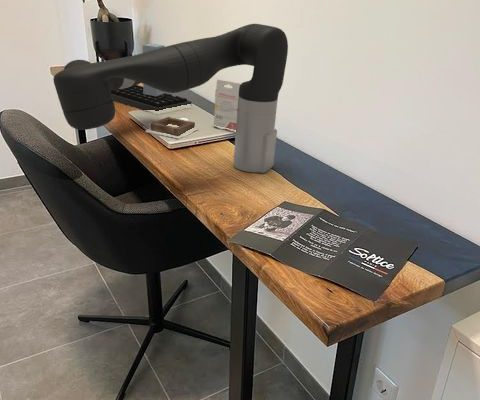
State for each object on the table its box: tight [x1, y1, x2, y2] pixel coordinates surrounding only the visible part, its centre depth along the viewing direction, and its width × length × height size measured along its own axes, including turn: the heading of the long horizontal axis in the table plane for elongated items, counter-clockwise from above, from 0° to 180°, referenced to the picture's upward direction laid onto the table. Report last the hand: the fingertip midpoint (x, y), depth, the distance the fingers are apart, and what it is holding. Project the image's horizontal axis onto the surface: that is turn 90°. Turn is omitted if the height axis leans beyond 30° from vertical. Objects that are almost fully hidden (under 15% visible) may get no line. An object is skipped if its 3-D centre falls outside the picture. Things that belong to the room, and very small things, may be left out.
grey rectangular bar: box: [142, 43, 166, 96], centre depth 143 cm, size 4×4×14 cm
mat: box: [144, 128, 180, 140], centre depth 143 cm, size 11×12×1 cm
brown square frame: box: [150, 116, 196, 136], centre depth 143 cm, size 9×9×2 cm
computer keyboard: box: [111, 84, 192, 111], centre depth 175 cm, size 45×16×4 cm, turn 52°
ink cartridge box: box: [213, 79, 241, 130], centre depth 147 cm, size 9×5×15 cm, turn 62°
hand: (159, 65), depth 145 cm, fingers closed on grey rectangular bar, 4 cm apart
